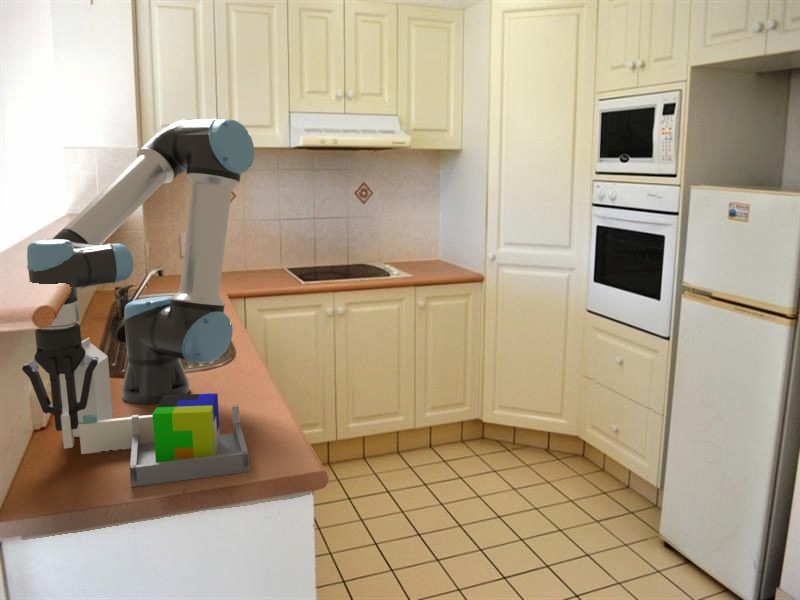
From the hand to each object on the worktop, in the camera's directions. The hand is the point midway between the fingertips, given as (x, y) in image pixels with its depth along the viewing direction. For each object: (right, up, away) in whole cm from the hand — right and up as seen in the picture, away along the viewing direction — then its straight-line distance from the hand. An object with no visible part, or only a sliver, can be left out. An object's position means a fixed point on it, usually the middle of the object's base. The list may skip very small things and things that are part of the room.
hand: (69, 445), depth 135 cm
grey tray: (+24, -2, -2) cm, 24 cm away
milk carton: (-1, 0, +12) cm, 12 cm away
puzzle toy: (+23, -2, -1) cm, 23 cm away
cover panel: (+11, -1, +4) cm, 11 cm away
